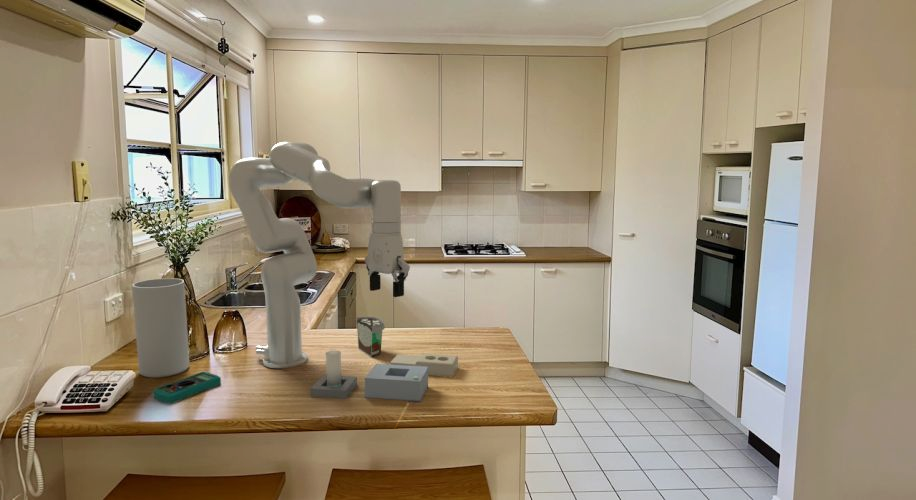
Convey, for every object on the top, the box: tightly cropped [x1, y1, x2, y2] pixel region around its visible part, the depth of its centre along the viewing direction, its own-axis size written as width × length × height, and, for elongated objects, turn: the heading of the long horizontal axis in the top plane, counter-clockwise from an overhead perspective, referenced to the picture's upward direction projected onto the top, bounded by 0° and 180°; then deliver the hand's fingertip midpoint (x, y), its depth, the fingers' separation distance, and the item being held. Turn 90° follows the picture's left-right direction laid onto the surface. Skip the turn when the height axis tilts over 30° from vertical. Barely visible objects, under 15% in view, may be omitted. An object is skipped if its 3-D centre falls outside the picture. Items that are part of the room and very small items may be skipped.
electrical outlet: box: [389, 353, 459, 378], centre depth 157 cm, size 7×4×18 cm
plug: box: [325, 349, 342, 387], centre depth 140 cm, size 4×4×10 cm
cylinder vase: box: [131, 277, 190, 379], centre depth 153 cm, size 12×12×25 cm
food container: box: [355, 316, 385, 358], centre depth 171 cm, size 12×6×10 cm, turn 34°
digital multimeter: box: [152, 371, 222, 404], centre depth 141 cm, size 7×15×3 cm, turn 151°
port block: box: [364, 363, 429, 404], centre depth 140 cm, size 14×10×6 cm
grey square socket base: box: [309, 374, 358, 400], centre depth 141 cm, size 9×9×2 cm
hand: (386, 293), depth 145 cm, fingers open, 9 cm apart
